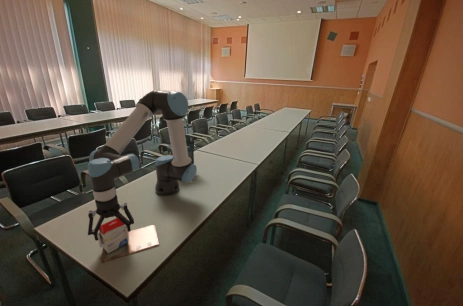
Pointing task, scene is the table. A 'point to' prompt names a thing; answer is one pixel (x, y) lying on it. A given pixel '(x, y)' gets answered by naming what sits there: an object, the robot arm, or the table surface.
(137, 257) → the table surface
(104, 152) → the robot arm
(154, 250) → the table surface
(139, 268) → the table surface
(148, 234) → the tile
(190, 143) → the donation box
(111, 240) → the ink box
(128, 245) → the frame
